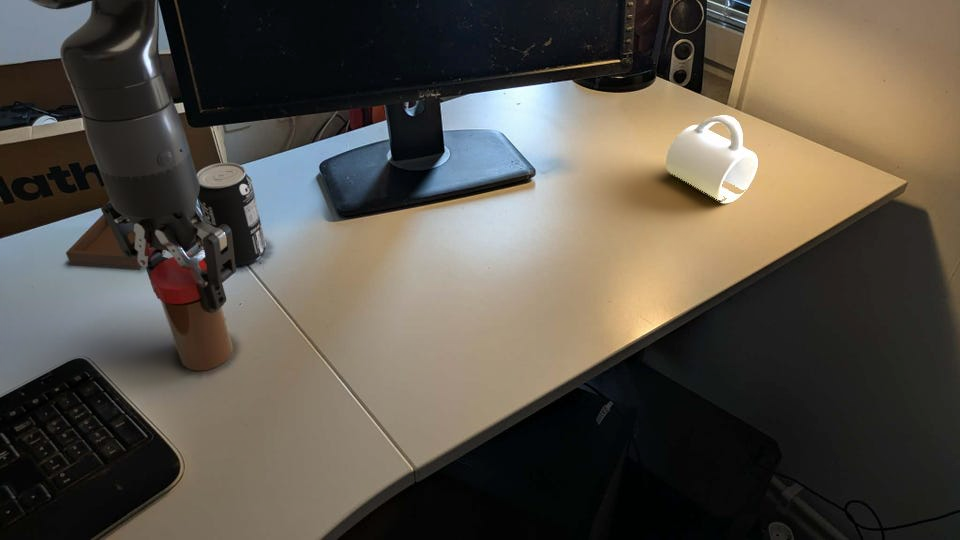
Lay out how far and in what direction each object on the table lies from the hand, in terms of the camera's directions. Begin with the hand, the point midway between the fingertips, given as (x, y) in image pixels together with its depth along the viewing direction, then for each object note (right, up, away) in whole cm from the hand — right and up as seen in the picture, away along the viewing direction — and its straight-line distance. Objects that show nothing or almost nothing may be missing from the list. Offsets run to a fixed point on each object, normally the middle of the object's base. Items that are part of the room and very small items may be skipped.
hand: (190, 299), depth 68 cm
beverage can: (-2, +5, +19) cm, 20 cm away
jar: (0, -6, +5) cm, 8 cm away
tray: (-18, +6, +20) cm, 27 cm away
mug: (+64, +16, +34) cm, 74 cm away
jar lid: (0, +3, -2) cm, 3 cm away
